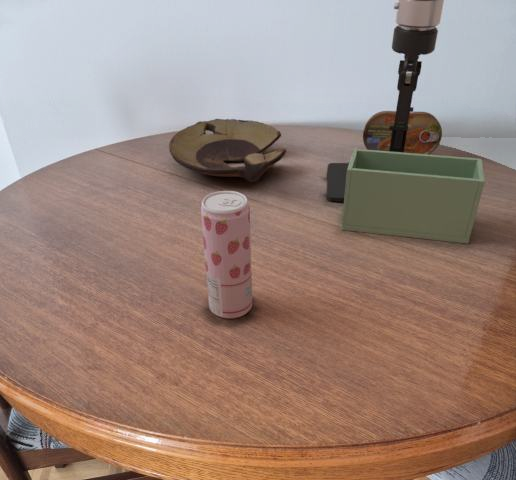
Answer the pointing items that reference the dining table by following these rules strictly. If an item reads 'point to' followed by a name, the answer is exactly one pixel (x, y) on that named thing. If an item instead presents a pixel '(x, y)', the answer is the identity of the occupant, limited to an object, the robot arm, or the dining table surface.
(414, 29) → the robot arm
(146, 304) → the dining table surface
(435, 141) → the tin
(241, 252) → the beverage can
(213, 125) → the broken brown bowl
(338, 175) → the phone
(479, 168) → the waste bin
